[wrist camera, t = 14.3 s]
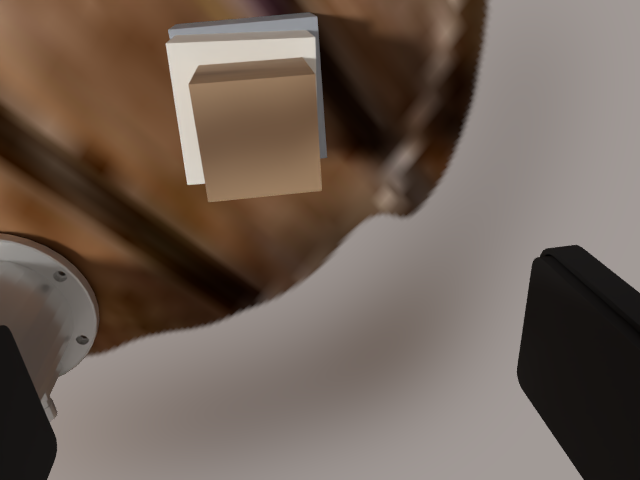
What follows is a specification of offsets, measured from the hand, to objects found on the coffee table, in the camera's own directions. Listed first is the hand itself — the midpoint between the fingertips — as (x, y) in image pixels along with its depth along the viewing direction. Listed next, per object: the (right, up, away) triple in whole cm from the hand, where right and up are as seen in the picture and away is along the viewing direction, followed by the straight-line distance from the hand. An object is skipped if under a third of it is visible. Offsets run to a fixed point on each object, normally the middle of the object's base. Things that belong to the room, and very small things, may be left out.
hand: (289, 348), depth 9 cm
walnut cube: (-3, +8, +16) cm, 19 cm away
